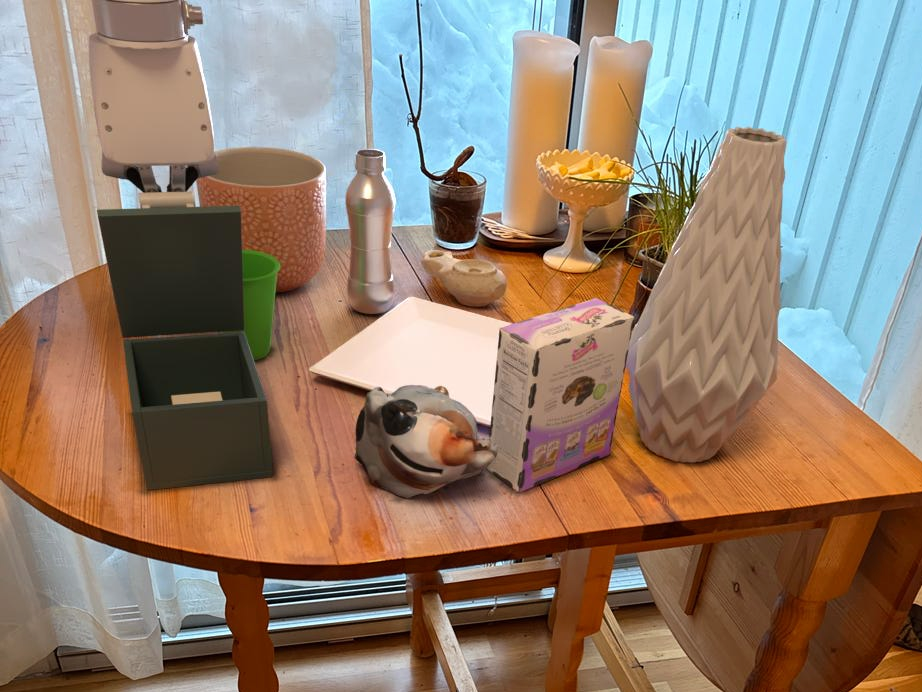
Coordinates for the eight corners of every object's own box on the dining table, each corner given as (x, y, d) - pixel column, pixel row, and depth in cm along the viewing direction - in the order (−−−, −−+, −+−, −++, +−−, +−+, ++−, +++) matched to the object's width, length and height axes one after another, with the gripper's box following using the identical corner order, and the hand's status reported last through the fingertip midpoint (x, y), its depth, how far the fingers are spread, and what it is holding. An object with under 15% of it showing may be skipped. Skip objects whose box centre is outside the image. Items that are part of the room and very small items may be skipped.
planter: (335, 303, 132) (332, 187, 121) (209, 305, 128) (195, 186, 118) (322, 256, 144) (318, 147, 134) (206, 257, 140) (193, 145, 130)
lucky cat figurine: (500, 453, 105) (532, 382, 93) (456, 540, 101) (484, 477, 88) (378, 392, 105) (394, 311, 92) (329, 476, 100) (338, 404, 87)
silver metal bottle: (403, 308, 132) (407, 153, 119) (375, 324, 128) (376, 164, 114) (366, 295, 134) (365, 141, 121) (337, 311, 130) (332, 153, 116)
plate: (585, 356, 125) (587, 341, 124) (505, 444, 107) (507, 428, 106) (409, 309, 132) (410, 294, 131) (307, 384, 114) (306, 368, 113)
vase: (776, 479, 106) (882, 164, 84) (636, 486, 103) (708, 160, 81) (719, 405, 118) (799, 112, 96) (592, 409, 115) (645, 107, 93)
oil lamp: (427, 273, 142) (429, 238, 139) (518, 292, 139) (522, 257, 136) (400, 298, 135) (401, 263, 131) (496, 319, 132) (499, 283, 128)
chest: (273, 477, 99) (267, 400, 93) (146, 490, 95) (132, 412, 89) (251, 404, 110) (244, 331, 104) (136, 414, 106) (122, 339, 100)
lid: (241, 211, 88) (232, 174, 90) (97, 216, 85) (91, 177, 86) (244, 330, 103) (237, 296, 105) (122, 338, 100) (116, 303, 101)
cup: (234, 375, 114) (225, 284, 107) (198, 345, 119) (187, 257, 112) (299, 357, 119) (294, 269, 112) (262, 330, 124) (255, 244, 116)
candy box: (574, 434, 110) (597, 295, 99) (610, 457, 107) (638, 315, 96) (483, 469, 103) (497, 323, 92) (519, 494, 100) (537, 347, 89)
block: (182, 462, 98) (175, 419, 95) (177, 437, 102) (170, 395, 98) (231, 457, 100) (226, 414, 96) (225, 433, 103) (220, 391, 100)
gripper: (223, 14, 87) (241, 221, 99) (47, 9, 82) (89, 227, 95) (235, 32, 82) (253, 248, 94) (48, 28, 77) (92, 255, 90)
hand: (170, 237), depth 94 cm, fingers closed
